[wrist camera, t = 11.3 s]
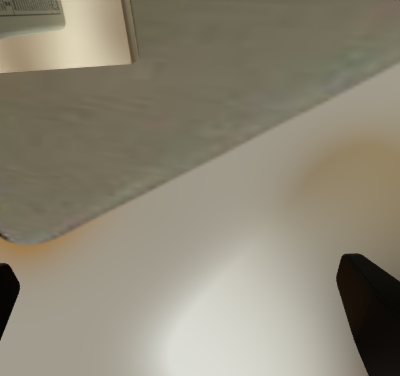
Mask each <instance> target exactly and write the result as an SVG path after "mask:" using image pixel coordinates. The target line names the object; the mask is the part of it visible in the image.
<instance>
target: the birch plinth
mask: <svg viewBox="0 0 400 376" xmlns="http://www.w3.org/2000/svg"><path fill="white" fill-rule="evenodd" d="M60 4H61V8H62V11H63V16H64V20H65V28H64V29H62V30H56V31H50V32H45V33H38V34H31V35H23V36H17V37H11V38H5V39H0V73H6V72H21V71H35V70H50V69H64V68H79V67H93V66H108V65H122V64H132V63H134V62H135V61H137V60H138V59H139V55H138V49H137V42H136V36H135V30H134V23H133V17H132V11H131V5H130V0H60Z"/></svg>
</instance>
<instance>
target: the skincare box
mask: <svg viewBox="0 0 400 376" xmlns="http://www.w3.org/2000/svg"><path fill="white" fill-rule="evenodd" d="M64 28H65V20H64V16H63V11H62V8H61V4H60V0H0V39H5V38H11V37H17V36H23V35H31V34H38V33H45V32H50V31H56V30H62V29H64Z"/></svg>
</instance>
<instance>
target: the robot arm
mask: <svg viewBox="0 0 400 376" xmlns="http://www.w3.org/2000/svg"><path fill="white" fill-rule="evenodd" d="M336 281H337V286H338V289H339V292H340V296H341V299H342V302H343V305H344V309H345V312H346V316H347V319H348V322H349V325H350V329H351V332H352V335H353V338H354V341H355V343H356V346H357V349H358V352H359V354H360V356H361V359H362V361H363V363H364V366H365V368H366V371H367V373H368V375H369V376H400V281H398V280H397V279H395V278H394V277H393V276H391V275H390V274H388V273H387V272H386V271H384V270H383V269H381V268H380V267H378V266H377V265H376V264H374V263H373V262H371V261H370V260H368V259H367V258H366V257H364V256H363V255H361V254H357V253H356V254H344V255H343V256H342V257H341V260H340V264H339V268H338V272H337V276H336ZM19 290H20V284H19V281H18V279H17V278H16V276H15V274H14V272H13V271H12V269H11V267H10V266H9V265H8V264H6V263H0V340H1V337H2V335H3V332H4V330H5V327H6V325H7V322H8V320H9V317H10V314H11V312H12V309H13V306H14V304H15V301H16V299H17V296H18V294H19Z"/></svg>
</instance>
